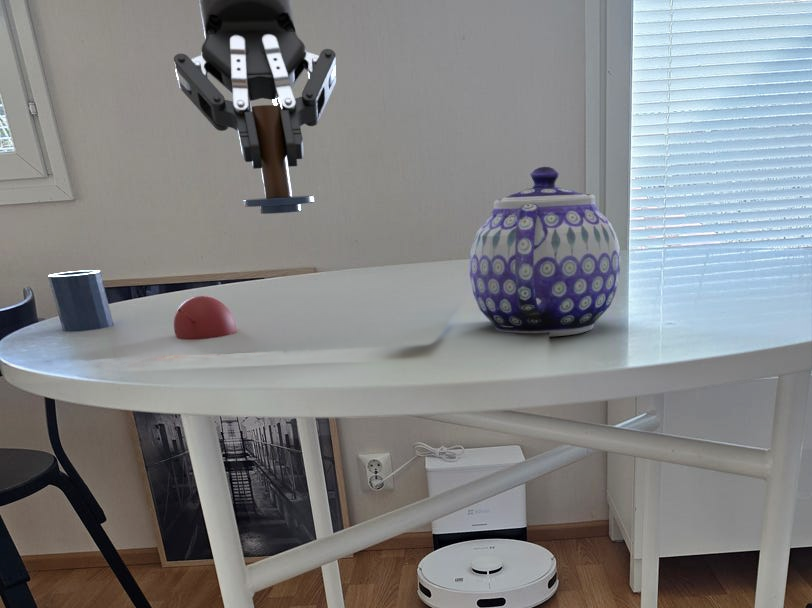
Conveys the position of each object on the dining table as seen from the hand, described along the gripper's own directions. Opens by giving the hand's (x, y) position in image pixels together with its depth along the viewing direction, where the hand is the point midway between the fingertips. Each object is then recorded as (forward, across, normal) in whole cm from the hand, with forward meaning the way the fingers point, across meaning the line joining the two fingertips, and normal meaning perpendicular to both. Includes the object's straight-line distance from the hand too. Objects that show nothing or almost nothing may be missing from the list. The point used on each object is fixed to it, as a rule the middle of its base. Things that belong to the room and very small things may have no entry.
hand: (274, 158), depth 68 cm
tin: (-10, +22, -34) cm, 42 cm away
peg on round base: (+1, 0, -4) cm, 4 cm away
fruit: (+1, +9, -24) cm, 25 cm away
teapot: (+5, -26, -19) cm, 32 cm away
